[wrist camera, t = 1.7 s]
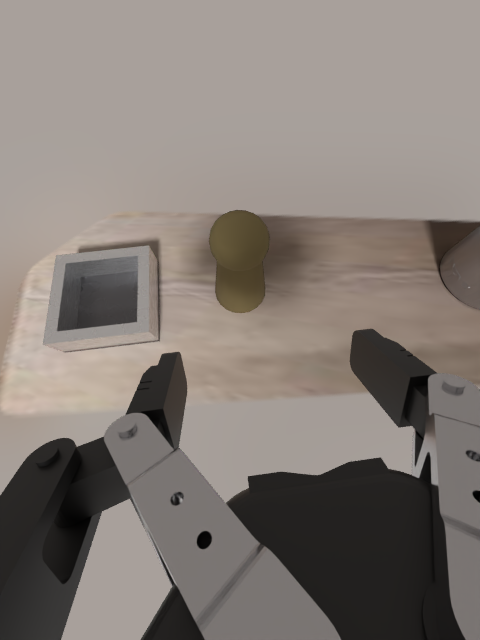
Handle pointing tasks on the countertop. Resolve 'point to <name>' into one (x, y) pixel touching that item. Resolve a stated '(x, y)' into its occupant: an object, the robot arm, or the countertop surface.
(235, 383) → the countertop surface
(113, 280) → the grey shallow square box
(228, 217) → the cork
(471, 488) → the robot arm
